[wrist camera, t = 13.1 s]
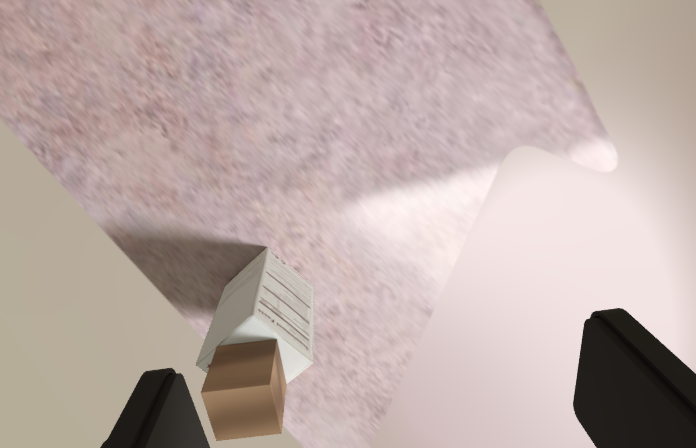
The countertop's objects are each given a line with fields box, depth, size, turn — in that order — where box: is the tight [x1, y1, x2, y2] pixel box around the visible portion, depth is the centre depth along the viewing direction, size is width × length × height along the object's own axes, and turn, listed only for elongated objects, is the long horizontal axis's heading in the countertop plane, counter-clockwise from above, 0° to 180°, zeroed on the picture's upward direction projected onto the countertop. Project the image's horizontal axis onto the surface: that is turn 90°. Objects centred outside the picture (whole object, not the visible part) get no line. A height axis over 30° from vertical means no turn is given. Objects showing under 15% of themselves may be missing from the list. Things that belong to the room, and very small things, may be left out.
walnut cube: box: [201, 339, 286, 441], centre depth 33 cm, size 5×5×5 cm
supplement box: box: [196, 247, 314, 384], centre depth 41 cm, size 7×7×13 cm
